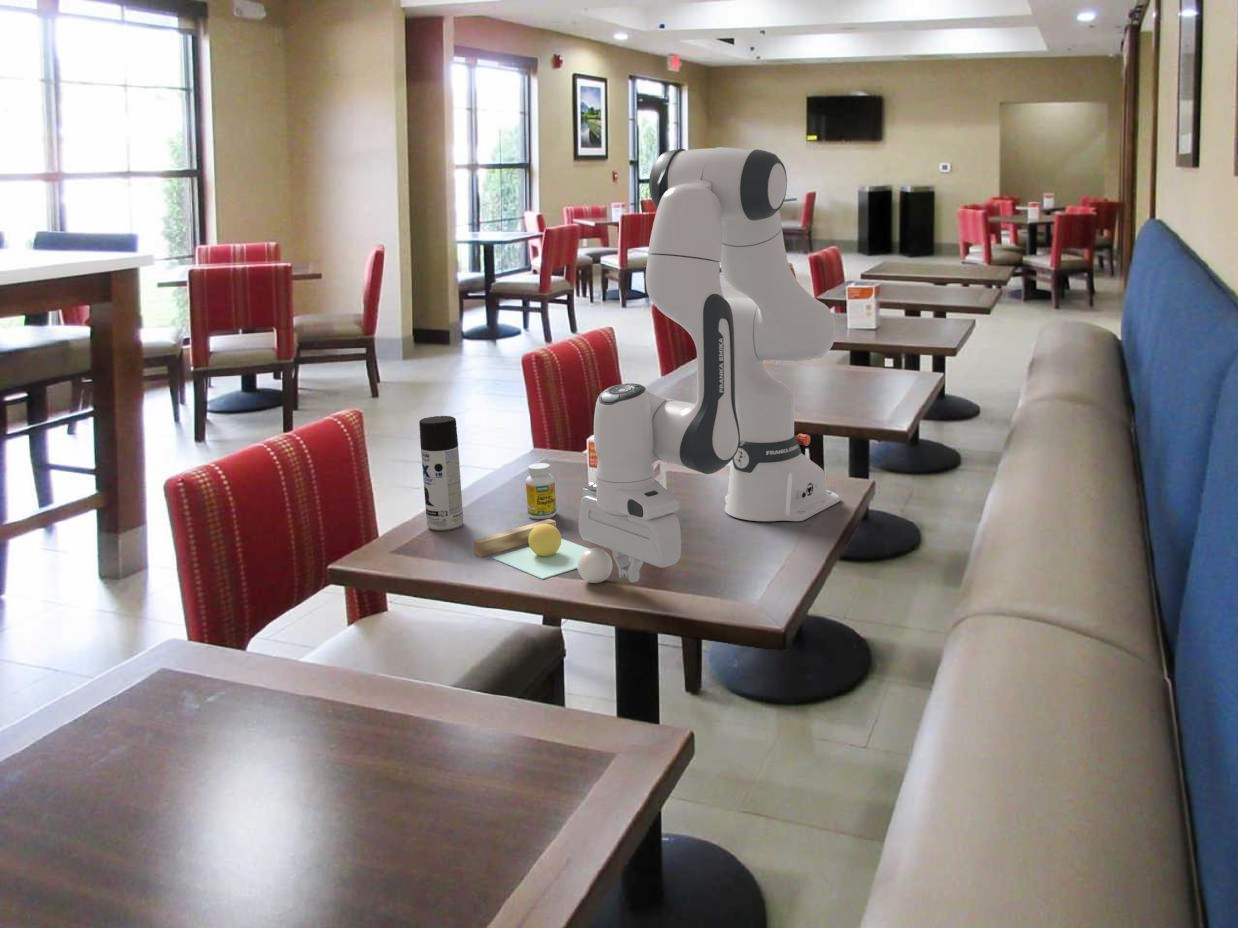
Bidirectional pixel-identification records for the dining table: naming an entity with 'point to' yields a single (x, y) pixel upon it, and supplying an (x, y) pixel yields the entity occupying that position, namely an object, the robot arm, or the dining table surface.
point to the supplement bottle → (540, 492)
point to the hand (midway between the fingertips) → (629, 579)
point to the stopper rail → (506, 539)
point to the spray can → (441, 473)
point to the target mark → (544, 560)
